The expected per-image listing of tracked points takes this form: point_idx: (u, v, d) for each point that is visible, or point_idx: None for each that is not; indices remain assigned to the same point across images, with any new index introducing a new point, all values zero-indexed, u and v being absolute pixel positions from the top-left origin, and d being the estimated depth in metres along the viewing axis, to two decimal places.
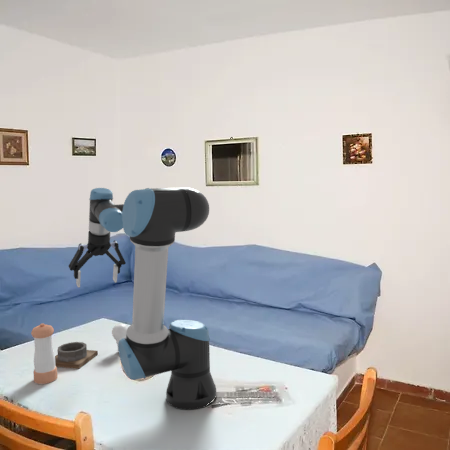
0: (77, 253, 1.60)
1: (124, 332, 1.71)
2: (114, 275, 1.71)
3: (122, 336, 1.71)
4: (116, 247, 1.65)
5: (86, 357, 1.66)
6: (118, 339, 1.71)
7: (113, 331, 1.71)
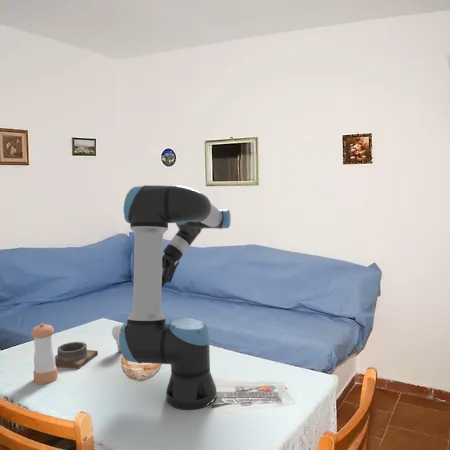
0: None
1: None
2: None
3: None
4: (172, 262, 1.78)
5: (86, 357, 1.66)
6: (118, 339, 1.71)
7: (113, 331, 1.71)
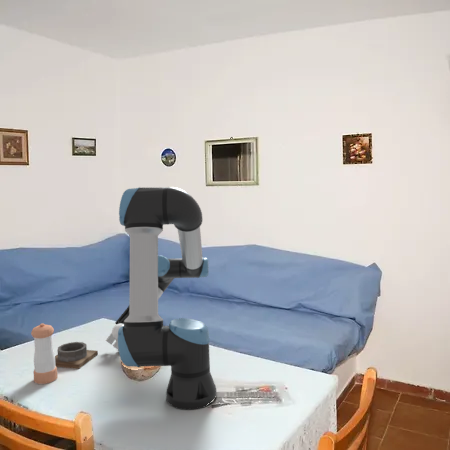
0: None
1: None
2: None
3: None
4: None
5: (86, 357, 1.66)
6: None
7: (113, 331, 1.71)
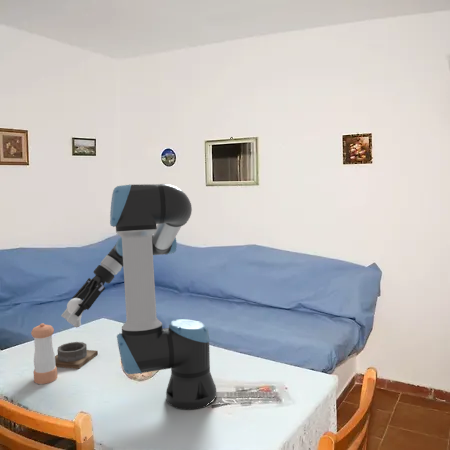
0: None
1: None
2: None
3: None
4: (97, 287, 1.65)
5: (86, 357, 1.66)
6: None
7: (68, 305, 1.65)
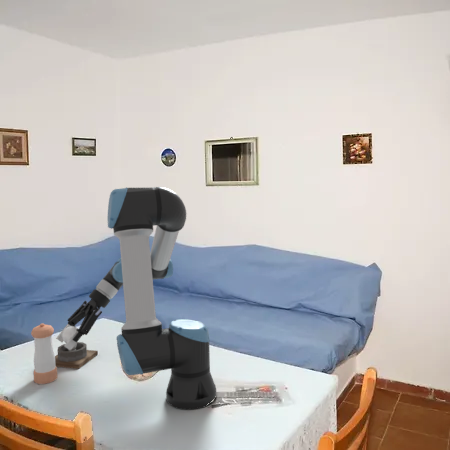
0: None
1: None
2: None
3: None
4: (93, 311, 1.64)
5: (86, 357, 1.66)
6: None
7: (63, 334, 1.65)
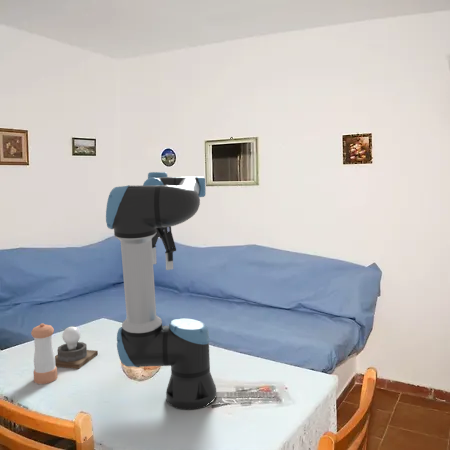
0: None
1: (75, 336, 1.64)
2: None
3: (72, 340, 1.64)
4: (164, 231, 1.69)
5: (86, 357, 1.66)
6: (68, 343, 1.64)
7: (63, 334, 1.64)
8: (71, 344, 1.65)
